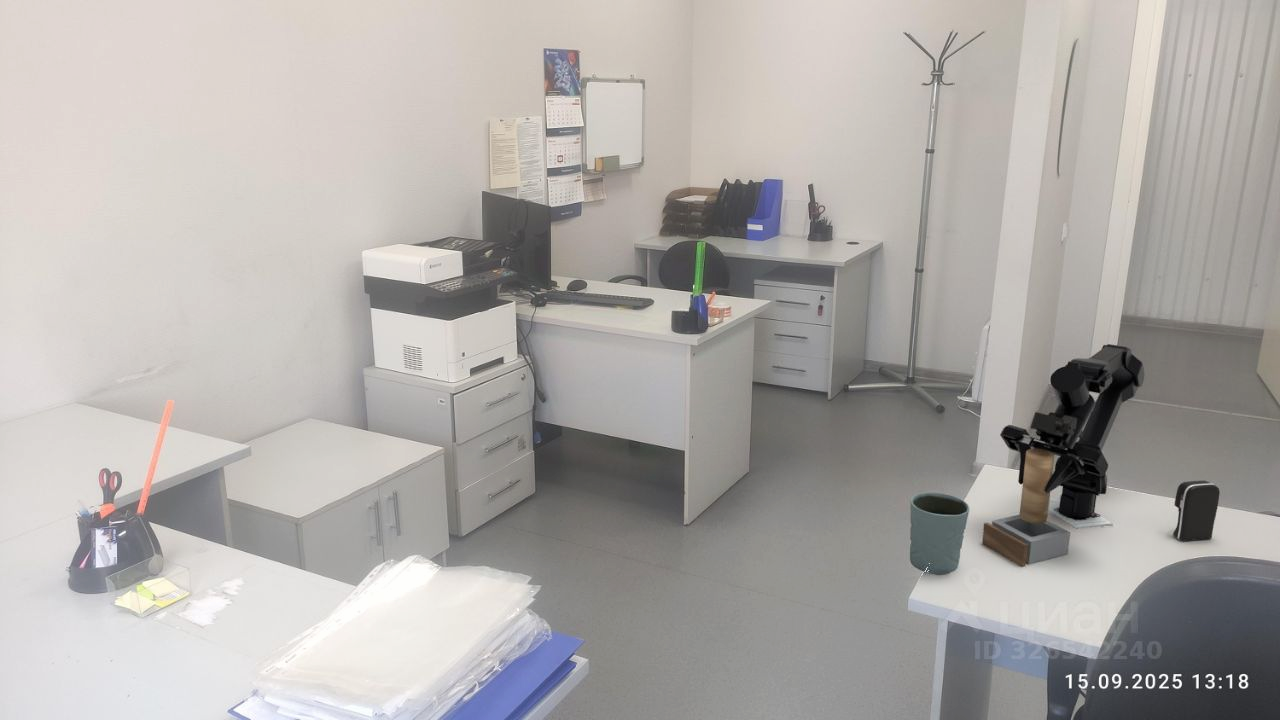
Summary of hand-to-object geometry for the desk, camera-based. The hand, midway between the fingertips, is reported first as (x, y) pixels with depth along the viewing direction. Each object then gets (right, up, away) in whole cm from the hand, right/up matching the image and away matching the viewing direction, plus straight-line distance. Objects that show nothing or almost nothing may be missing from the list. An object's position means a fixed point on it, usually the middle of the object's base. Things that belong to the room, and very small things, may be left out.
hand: (1032, 487), depth 165 cm
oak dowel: (+1, -6, +3) cm, 7 cm away
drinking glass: (-18, -14, 0) cm, 23 cm away
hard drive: (+17, -9, +18) cm, 27 cm away
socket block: (+1, -12, +4) cm, 13 cm away
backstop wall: (-5, -13, +2) cm, 14 cm away
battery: (+34, -11, +8) cm, 37 cm away
